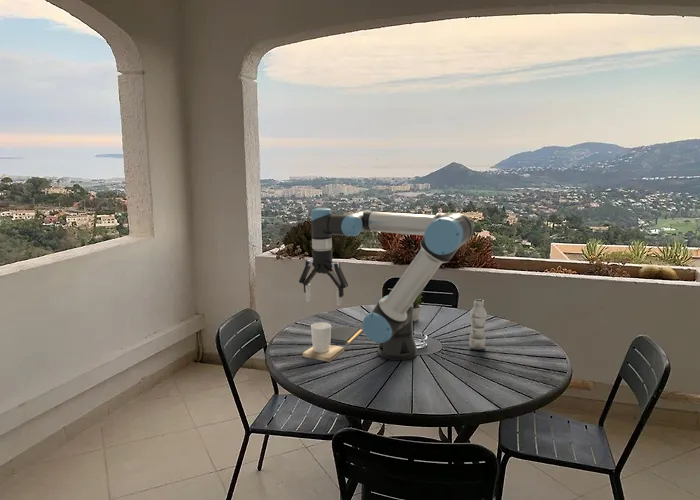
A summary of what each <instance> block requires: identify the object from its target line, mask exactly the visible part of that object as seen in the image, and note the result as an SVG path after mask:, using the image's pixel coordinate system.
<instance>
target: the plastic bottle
mask: <svg viewBox="0 0 700 500" xmlns="http://www.w3.org/2000/svg"><path fill="white" fill-rule="evenodd" d="M484 303H485V301H484V299H480V298H479V299H478V298H475V299H474V301H473V307H472V308H471V310H470V313H469V316H470V335H469V341H468V344H469V347H470V348H471V349H473V350H478V351H479V350H480V351H481V350H483V349H484V348H485V347H486V343H487V341H486V331H485V330H486V329H485V327H486V322H487V321H486V320H487V315H488V314H487V310H486V309H485V307H484Z"/></svg>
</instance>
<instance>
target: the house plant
mask: <svg viewBox="0 0 700 500" xmlns="http://www.w3.org/2000/svg"><path fill="white" fill-rule="evenodd" d="M423 293H424V290H422V291H421V292H420V294H419V295H418V296H417V298H416V299H415V301H414V302H413V322H417V321H418V320H419V318H420V312H421V305H420V304H422V303H423V301H422V299H421V298H422V294H423ZM421 301H422V302H421Z"/></svg>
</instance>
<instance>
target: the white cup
mask: <svg viewBox="0 0 700 500" xmlns="http://www.w3.org/2000/svg"><path fill="white" fill-rule="evenodd" d="M331 328H332V324H330V323H328V322H324V321H323V322H314V323H312V324H310V332H311V333H310V334H311V344H312V346H313V351H315V352H318V353H324V352H328V351H329V350H330V345H331V343H330V342H331Z"/></svg>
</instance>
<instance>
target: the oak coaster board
mask: <svg viewBox="0 0 700 500" xmlns="http://www.w3.org/2000/svg"><path fill="white" fill-rule="evenodd" d="M344 352H345V347H344V346H339V345H335V344H330V350H329V351H328V352H324V353H318V352H315V351H313V345H312V346H310V348H308V349H307V350H305V351H303V352H302V357H303V358H308V359H314V360H318V361H323V362H327V363H331V361H333V360H335V359H336V358H337V357H338V356H340V355H341V354H342V353H344Z"/></svg>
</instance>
